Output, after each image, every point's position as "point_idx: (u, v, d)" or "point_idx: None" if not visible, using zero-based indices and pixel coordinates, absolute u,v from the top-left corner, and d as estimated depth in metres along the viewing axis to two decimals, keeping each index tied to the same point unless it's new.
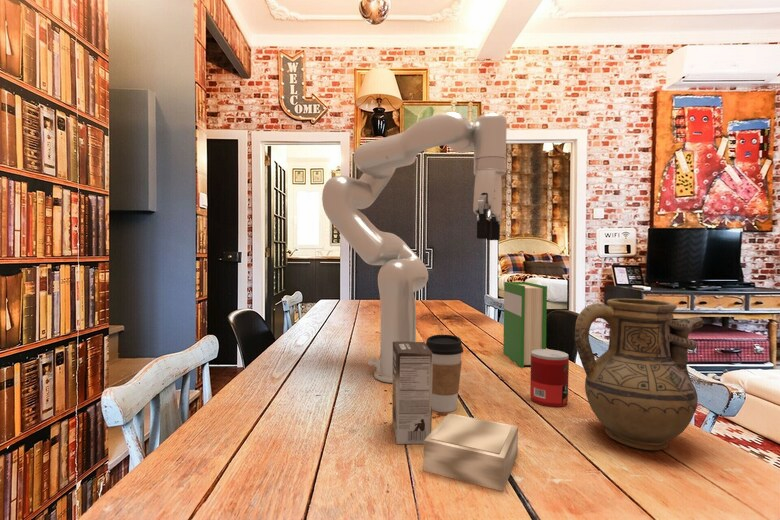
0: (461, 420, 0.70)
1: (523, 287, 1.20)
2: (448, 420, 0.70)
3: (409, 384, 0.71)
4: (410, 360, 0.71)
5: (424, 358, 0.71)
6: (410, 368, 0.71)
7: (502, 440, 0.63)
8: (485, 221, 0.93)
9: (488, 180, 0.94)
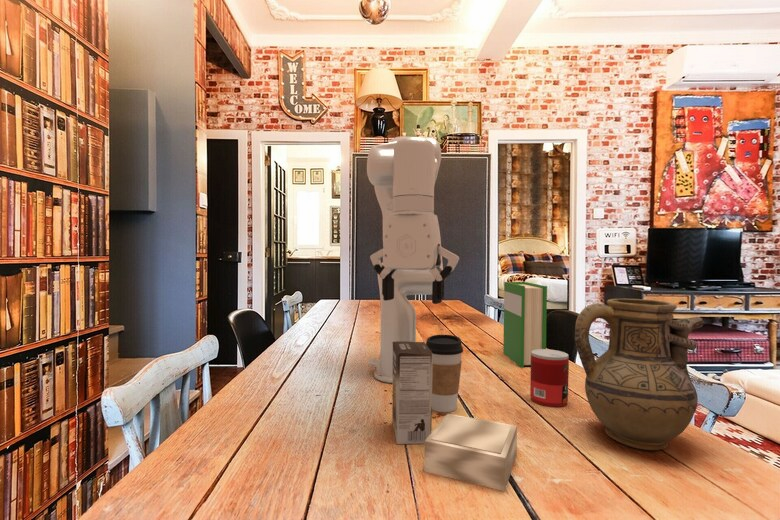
0: (460, 420, 0.70)
1: (523, 287, 1.20)
2: (447, 420, 0.70)
3: (409, 384, 0.71)
4: (410, 360, 0.71)
5: (424, 358, 0.71)
6: (410, 368, 0.71)
7: (502, 440, 0.63)
8: (443, 281, 0.73)
9: (438, 228, 0.74)
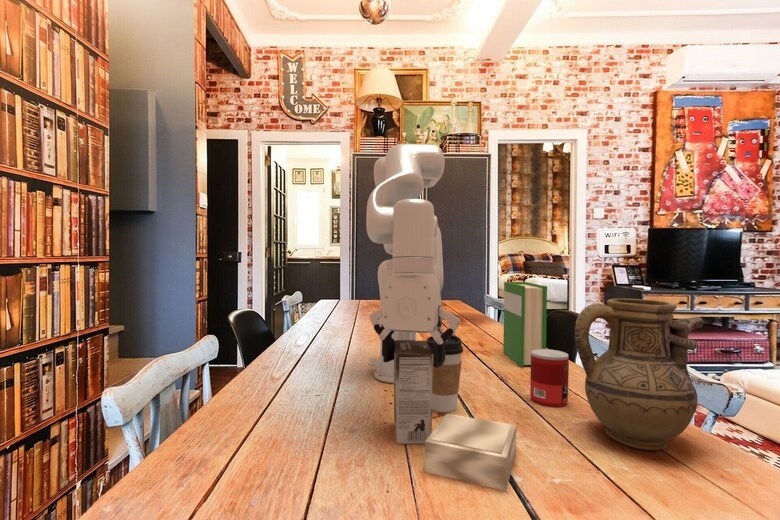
0: (460, 420, 0.70)
1: (523, 287, 1.20)
2: (447, 421, 0.70)
3: (408, 384, 0.71)
4: (410, 361, 0.70)
5: (424, 359, 0.70)
6: (410, 369, 0.71)
7: (503, 439, 0.63)
8: (444, 343, 0.72)
9: (439, 289, 0.73)
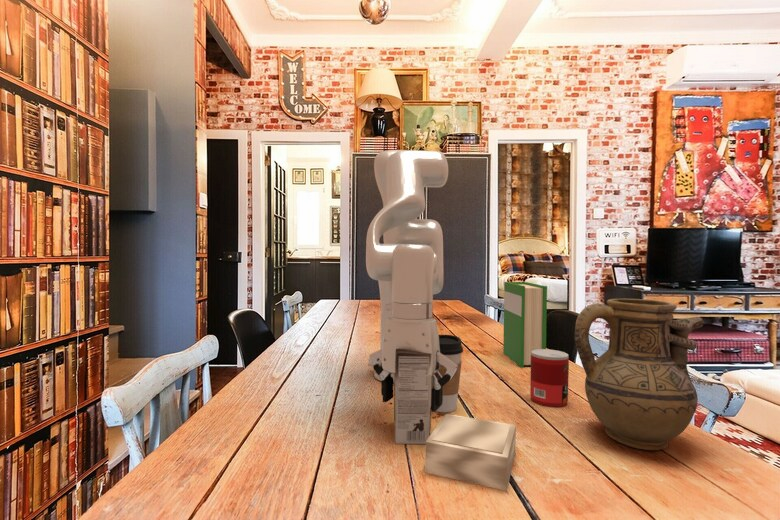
0: (459, 420, 0.70)
1: (523, 287, 1.20)
2: (446, 421, 0.70)
3: (407, 384, 0.71)
4: (409, 360, 0.71)
5: (423, 358, 0.71)
6: (409, 368, 0.71)
7: (503, 439, 0.63)
8: (442, 387, 0.74)
9: (437, 333, 0.74)
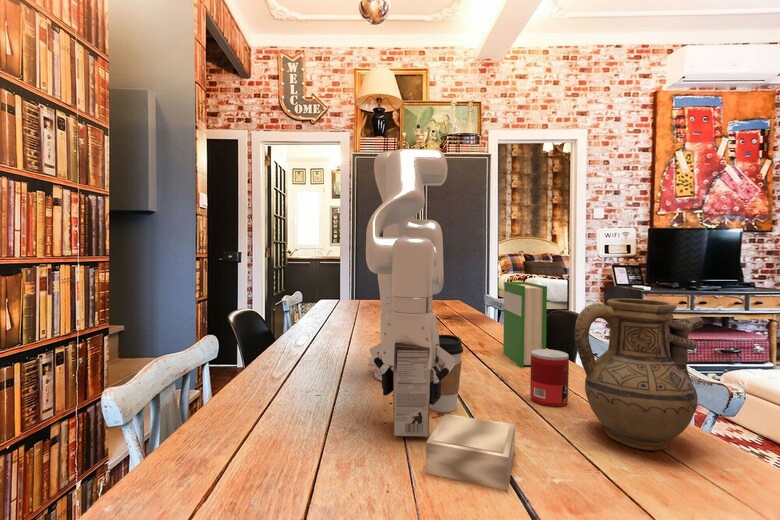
0: (459, 420, 0.70)
1: (523, 287, 1.20)
2: (446, 421, 0.70)
3: (406, 377, 0.72)
4: (407, 354, 0.72)
5: (421, 352, 0.72)
6: (407, 362, 0.72)
7: (503, 439, 0.63)
8: (440, 381, 0.74)
9: (437, 327, 0.75)
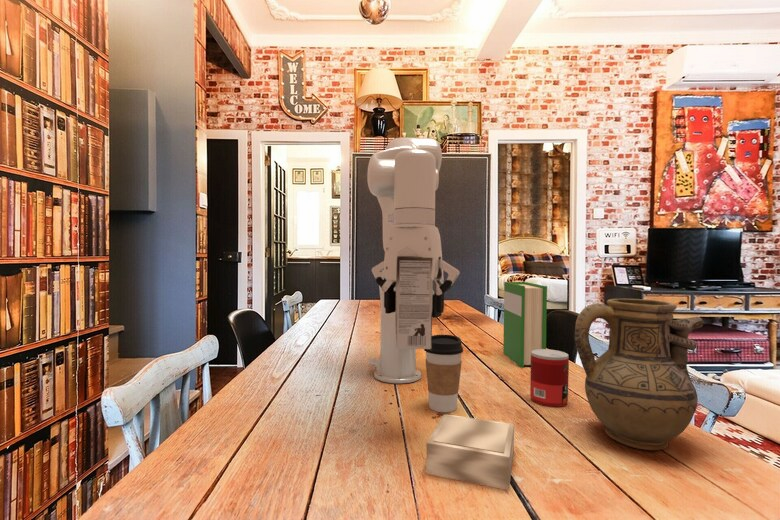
0: (458, 420, 0.70)
1: (523, 287, 1.20)
2: (445, 421, 0.69)
3: (408, 288, 0.71)
4: (410, 264, 0.71)
5: (424, 262, 0.71)
6: (410, 272, 0.71)
7: (503, 439, 0.63)
8: (443, 295, 0.73)
9: (439, 241, 0.74)
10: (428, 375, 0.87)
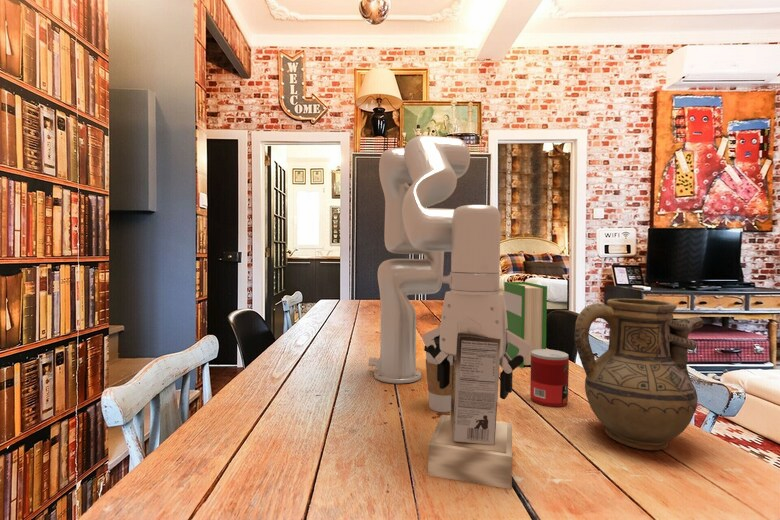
0: None
1: (523, 287, 1.20)
2: (444, 422, 0.69)
3: (471, 373, 0.61)
4: (473, 345, 0.61)
5: (490, 344, 0.61)
6: (473, 355, 0.61)
7: (504, 438, 0.63)
8: (512, 371, 0.63)
9: (505, 309, 0.64)
10: (428, 375, 0.87)
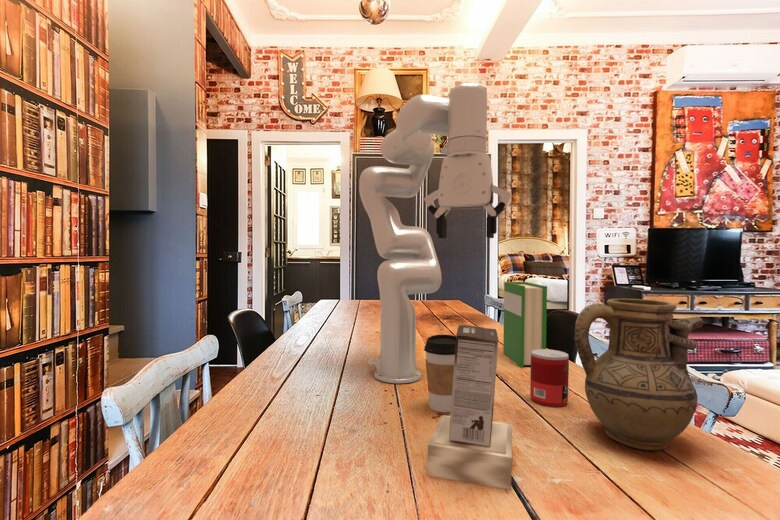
0: None
1: (523, 287, 1.20)
2: (444, 422, 0.69)
3: (467, 372, 0.61)
4: (470, 345, 0.61)
5: (487, 345, 0.60)
6: (470, 354, 0.61)
7: (503, 439, 0.63)
8: (496, 217, 0.79)
9: (491, 169, 0.79)
10: (428, 375, 0.87)
